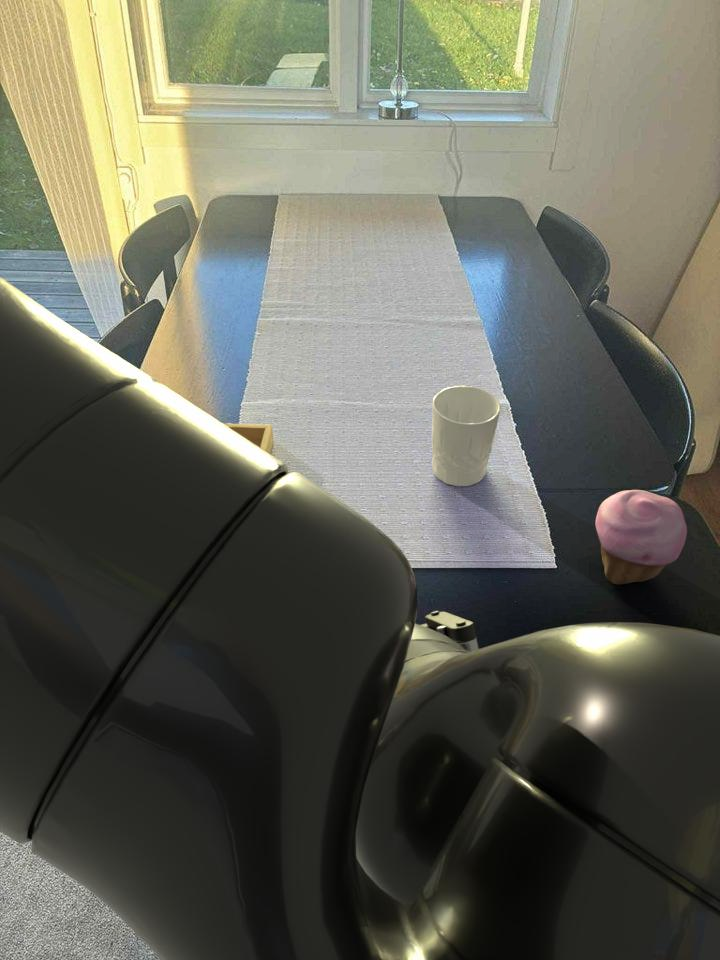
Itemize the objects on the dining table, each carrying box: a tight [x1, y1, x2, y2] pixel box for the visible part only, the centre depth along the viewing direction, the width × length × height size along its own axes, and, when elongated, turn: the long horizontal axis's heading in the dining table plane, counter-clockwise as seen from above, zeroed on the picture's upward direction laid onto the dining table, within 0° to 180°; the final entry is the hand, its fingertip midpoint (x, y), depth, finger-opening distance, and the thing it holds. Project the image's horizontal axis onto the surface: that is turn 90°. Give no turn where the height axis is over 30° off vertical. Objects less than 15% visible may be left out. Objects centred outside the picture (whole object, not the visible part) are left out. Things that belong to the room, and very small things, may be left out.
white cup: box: [431, 385, 502, 487], centre depth 85 cm, size 8×8×10 cm
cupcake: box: [595, 489, 688, 585], centre depth 72 cm, size 9×9×10 cm
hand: (316, 653), depth 43 cm, fingers open, 8 cm apart
